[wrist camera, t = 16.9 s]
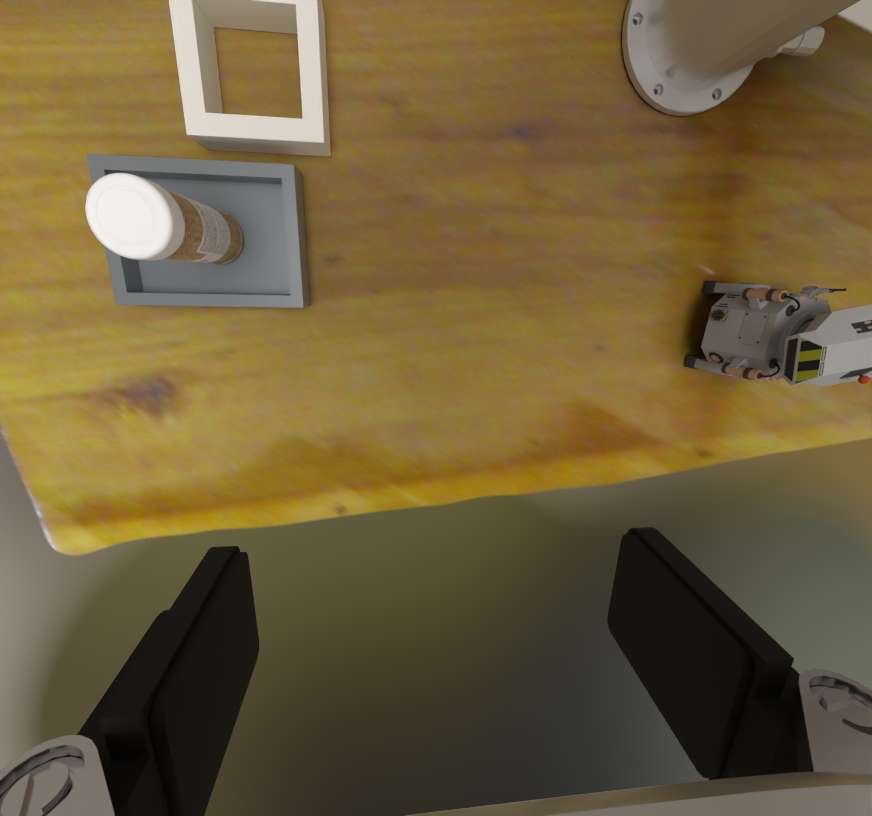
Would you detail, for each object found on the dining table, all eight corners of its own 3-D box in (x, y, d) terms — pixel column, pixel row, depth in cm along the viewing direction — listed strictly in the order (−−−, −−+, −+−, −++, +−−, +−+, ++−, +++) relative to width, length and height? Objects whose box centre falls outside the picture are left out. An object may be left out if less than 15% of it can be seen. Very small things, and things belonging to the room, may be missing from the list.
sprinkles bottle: (186, 255, 36) (77, 244, 24) (194, 200, 35) (84, 157, 23) (240, 272, 37) (164, 270, 25) (250, 219, 36) (175, 188, 23)
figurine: (763, 370, 47) (926, 412, 33) (669, 364, 46) (797, 405, 31) (789, 286, 45) (979, 291, 30) (690, 277, 43) (841, 277, 29)
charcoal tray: (302, 174, 36) (293, 164, 33) (310, 305, 40) (303, 307, 36) (115, 165, 35) (86, 153, 31) (139, 302, 38) (116, 304, 35)
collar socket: (324, 13, 33) (316, -21, 30) (330, 156, 36) (324, 142, 32) (190, 1, 32) (164, -36, 28) (208, 149, 35) (186, 134, 31)
